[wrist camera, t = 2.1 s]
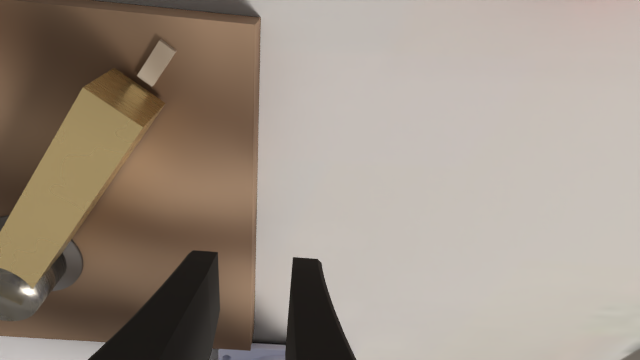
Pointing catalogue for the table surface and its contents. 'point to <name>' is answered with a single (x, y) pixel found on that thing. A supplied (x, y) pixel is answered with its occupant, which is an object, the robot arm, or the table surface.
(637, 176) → the table surface
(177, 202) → the plate
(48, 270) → the tan wooden bar
